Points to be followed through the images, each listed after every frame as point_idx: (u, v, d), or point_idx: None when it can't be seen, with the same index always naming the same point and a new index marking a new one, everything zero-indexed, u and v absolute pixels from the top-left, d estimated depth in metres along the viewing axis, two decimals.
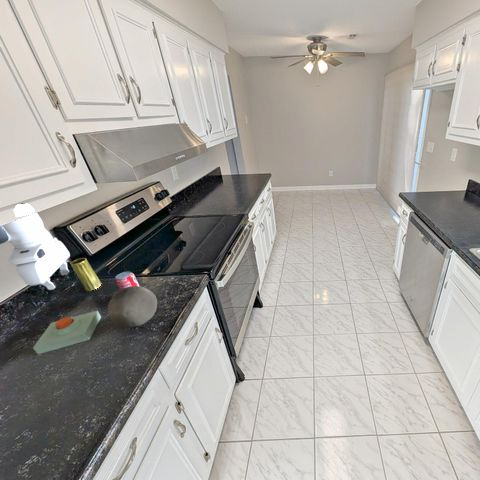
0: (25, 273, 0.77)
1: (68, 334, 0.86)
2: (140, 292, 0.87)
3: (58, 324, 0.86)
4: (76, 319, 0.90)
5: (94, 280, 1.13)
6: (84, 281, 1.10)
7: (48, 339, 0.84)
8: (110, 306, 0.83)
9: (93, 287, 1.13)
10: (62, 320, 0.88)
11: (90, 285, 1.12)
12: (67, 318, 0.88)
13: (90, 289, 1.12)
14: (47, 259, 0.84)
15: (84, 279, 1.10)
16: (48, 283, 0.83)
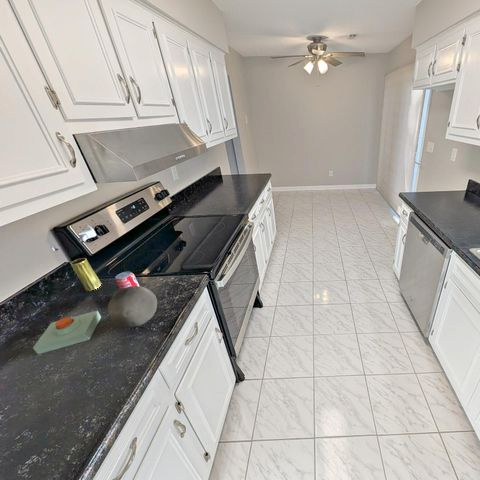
0: None
1: (68, 334, 0.86)
2: (140, 292, 0.87)
3: (58, 324, 0.86)
4: (76, 319, 0.90)
5: (94, 280, 1.13)
6: (84, 281, 1.10)
7: (48, 339, 0.84)
8: (110, 306, 0.83)
9: (93, 287, 1.13)
10: (62, 320, 0.88)
11: (90, 285, 1.12)
12: (67, 318, 0.88)
13: (90, 289, 1.12)
14: None
15: (84, 279, 1.10)
16: (86, 238, 1.18)
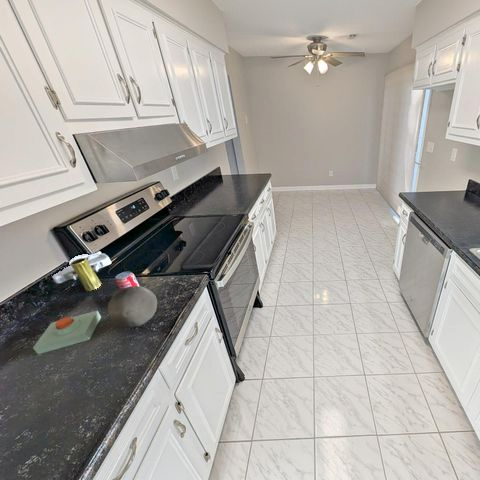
0: None
1: (68, 334, 0.86)
2: (140, 292, 0.87)
3: (58, 324, 0.86)
4: (76, 319, 0.90)
5: (94, 280, 1.13)
6: (84, 281, 1.10)
7: (48, 339, 0.84)
8: (110, 306, 0.83)
9: (93, 287, 1.13)
10: (62, 320, 0.88)
11: (90, 285, 1.12)
12: (67, 318, 0.88)
13: (90, 289, 1.12)
14: None
15: (84, 279, 1.10)
16: (98, 268, 1.16)
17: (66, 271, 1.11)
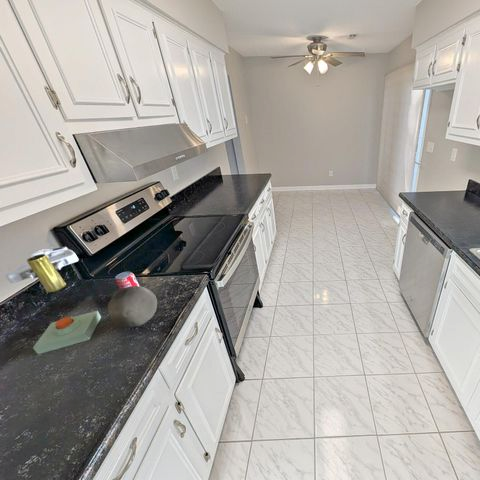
0: None
1: (68, 334, 0.86)
2: (140, 292, 0.87)
3: (58, 324, 0.86)
4: (76, 319, 0.90)
5: (56, 279, 0.99)
6: (43, 280, 0.97)
7: (48, 339, 0.84)
8: (110, 306, 0.83)
9: (54, 287, 0.99)
10: (62, 320, 0.88)
11: (51, 285, 0.98)
12: (67, 318, 0.88)
13: (51, 290, 0.98)
14: None
15: (43, 278, 0.96)
16: (62, 265, 1.02)
17: (23, 269, 0.97)
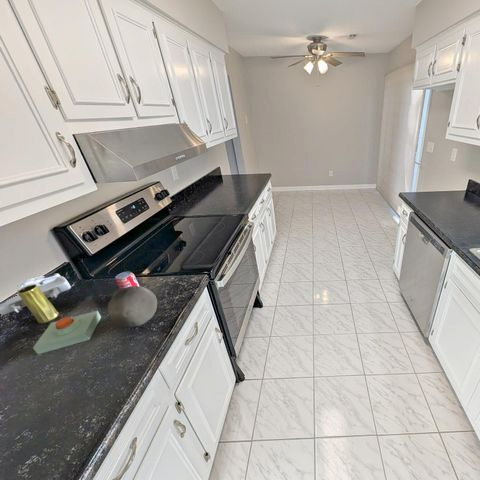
0: None
1: (68, 334, 0.86)
2: (140, 292, 0.87)
3: (58, 324, 0.86)
4: (76, 319, 0.90)
5: (48, 310, 0.96)
6: (35, 312, 0.94)
7: (48, 339, 0.84)
8: (110, 306, 0.83)
9: (46, 318, 0.96)
10: (62, 320, 0.88)
11: (43, 316, 0.96)
12: (67, 318, 0.88)
13: (43, 320, 0.96)
14: None
15: (35, 309, 0.94)
16: (58, 292, 1.01)
17: (13, 300, 0.94)
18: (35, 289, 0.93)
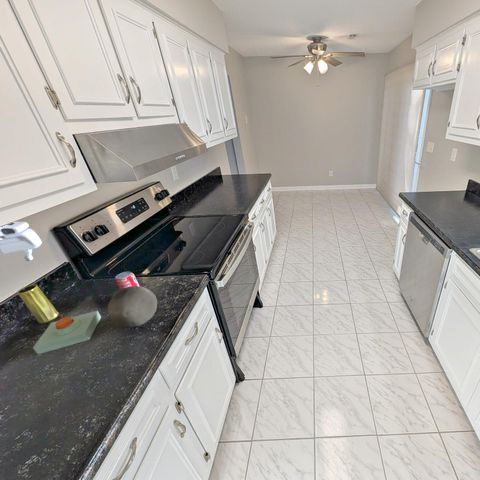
0: (32, 236, 0.96)
1: (68, 334, 0.86)
2: (140, 292, 0.87)
3: (58, 324, 0.86)
4: (76, 319, 0.90)
5: (48, 310, 0.96)
6: (35, 312, 0.94)
7: (48, 339, 0.84)
8: (110, 306, 0.83)
9: (46, 318, 0.96)
10: (62, 320, 0.88)
11: (43, 316, 0.96)
12: (67, 318, 0.88)
13: (43, 320, 0.96)
14: None
15: (35, 309, 0.94)
16: (31, 252, 0.99)
17: None
18: (35, 289, 0.93)
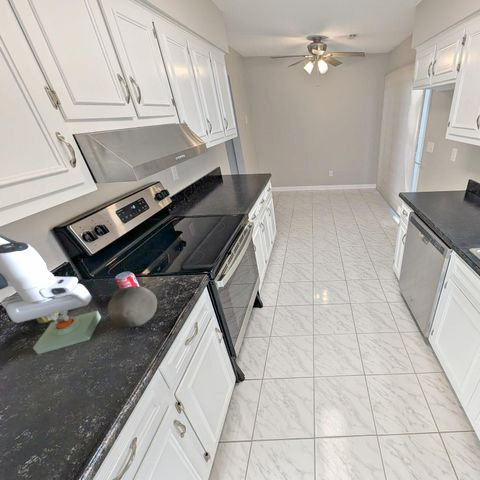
0: (82, 292, 0.86)
1: (68, 334, 0.86)
2: (140, 292, 0.87)
3: (58, 324, 0.86)
4: (76, 319, 0.90)
5: None
6: None
7: (48, 339, 0.84)
8: (110, 306, 0.83)
9: (46, 318, 0.96)
10: None
11: (43, 316, 0.96)
12: None
13: (43, 320, 0.96)
14: None
15: None
16: (67, 311, 0.87)
17: (30, 316, 0.82)
18: None
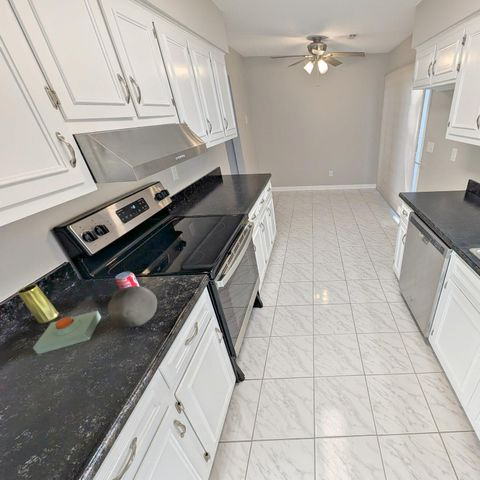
0: None
1: (68, 334, 0.86)
2: (140, 292, 0.87)
3: (58, 324, 0.86)
4: (76, 319, 0.90)
5: (48, 310, 0.96)
6: (35, 312, 0.94)
7: (48, 339, 0.84)
8: (110, 306, 0.83)
9: (46, 318, 0.96)
10: (62, 320, 0.88)
11: (43, 316, 0.96)
12: (67, 318, 0.88)
13: (43, 320, 0.96)
14: None
15: (35, 309, 0.94)
16: None
17: None
18: (35, 289, 0.93)
